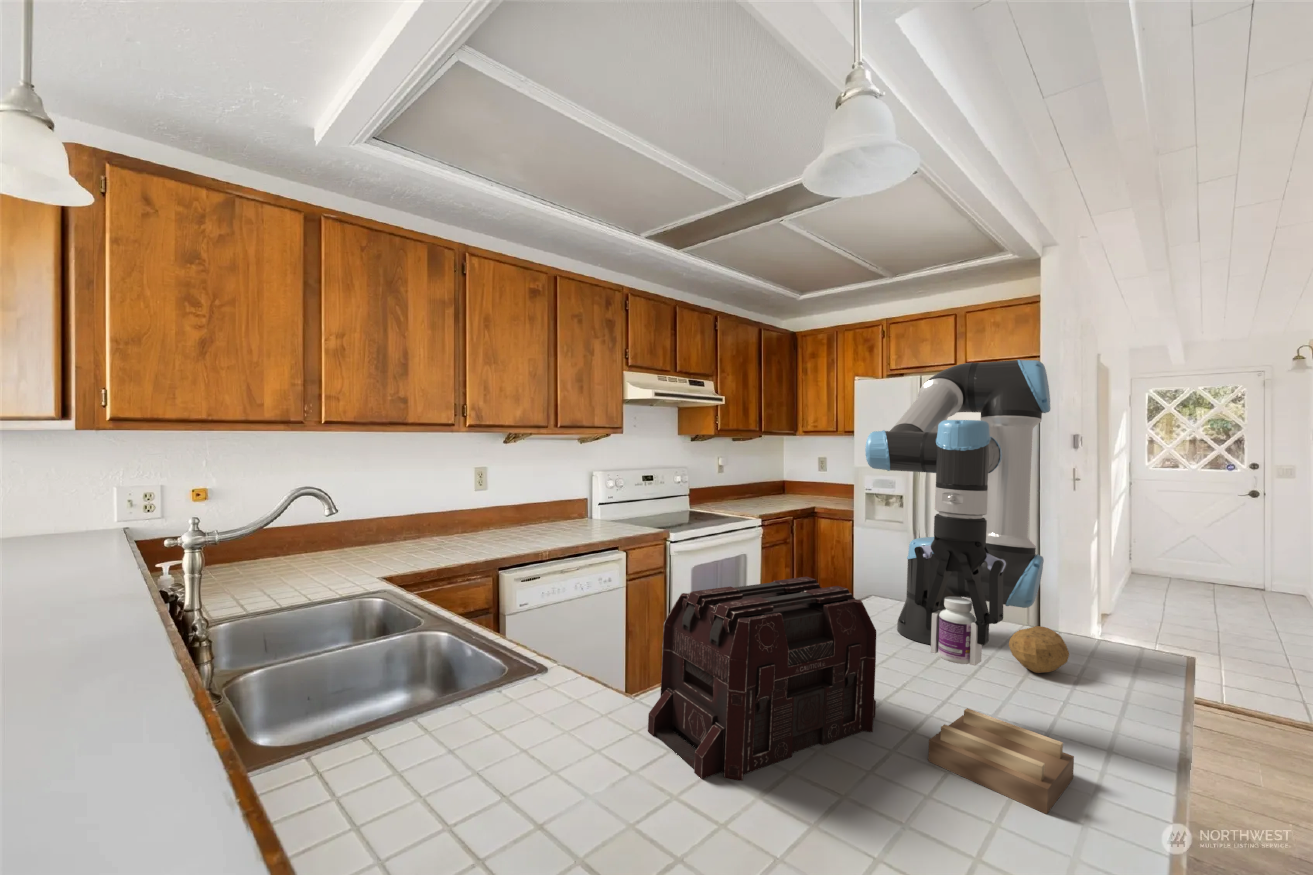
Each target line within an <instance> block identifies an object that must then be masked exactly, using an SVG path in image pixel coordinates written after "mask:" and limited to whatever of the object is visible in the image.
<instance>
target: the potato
mask: <svg viewBox="0 0 1313 875" xmlns="http://www.w3.org/2000/svg"><path fill="white" fill-rule="evenodd" d="M1008 641H1009V642H1008V647H1009V649H1010V652H1011V655H1012V656H1013V657H1014V658H1015V659H1016V660H1017V661H1018V662H1019V663H1020V664H1021V666H1022V667H1024V668H1026V669H1027V670H1029V671H1031V672H1032V673H1035V674H1039V673H1051V672H1054V671H1056V670H1058V669H1059V668H1060V667H1062V666H1064V665H1065V664H1066V663H1068V662H1069V661H1068V660H1069V657H1070V652H1069V649H1068V647H1067V644H1066V643H1065V641H1064V639H1063V637H1062V636H1061V635H1060V634H1058V633H1057V632H1056V631H1054V630H1052V629H1051V628H1048V627H1045V626H1040V625H1035V626H1032V627H1028V628H1023V629H1019V630H1017V631H1015V632H1014V633H1013V634H1012V636H1010V638H1009V640H1008Z"/></svg>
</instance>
